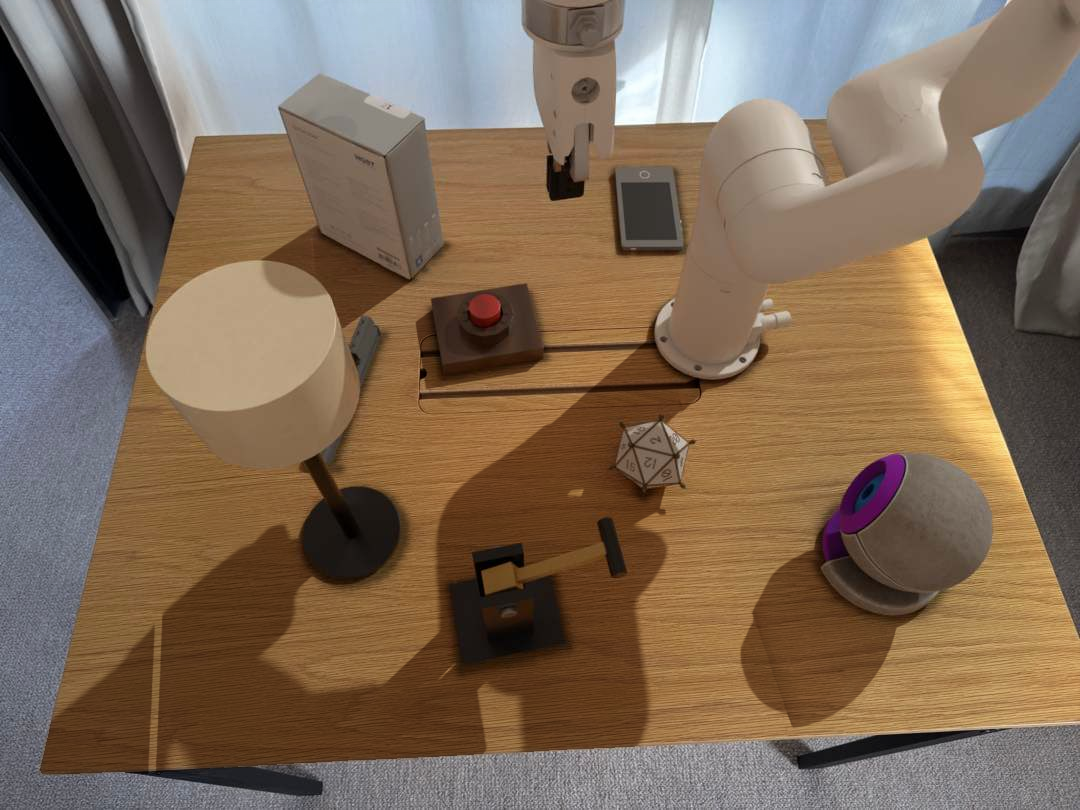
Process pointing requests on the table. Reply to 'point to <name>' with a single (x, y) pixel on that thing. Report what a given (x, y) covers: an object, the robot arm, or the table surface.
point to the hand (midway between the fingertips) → (564, 192)
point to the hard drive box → (366, 172)
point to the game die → (652, 454)
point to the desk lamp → (273, 394)
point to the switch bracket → (504, 612)
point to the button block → (487, 331)
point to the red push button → (484, 310)
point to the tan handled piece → (559, 563)
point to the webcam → (906, 533)
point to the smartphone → (648, 208)
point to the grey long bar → (358, 363)
